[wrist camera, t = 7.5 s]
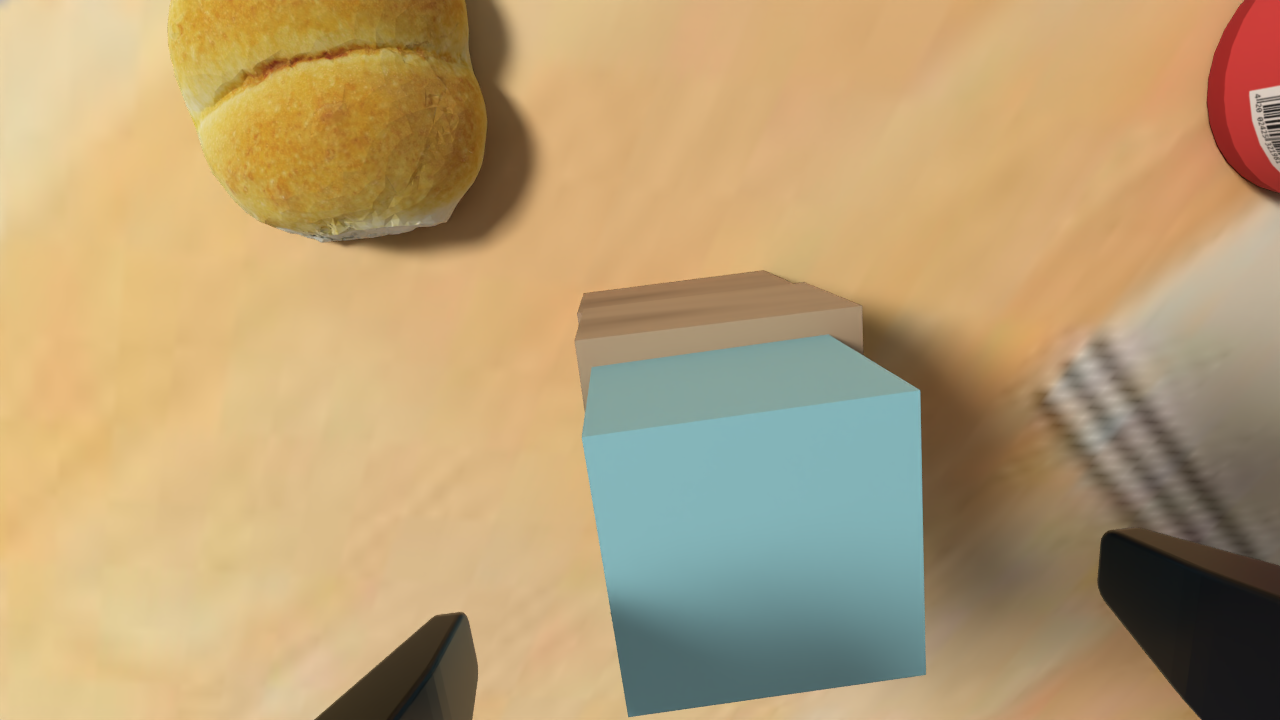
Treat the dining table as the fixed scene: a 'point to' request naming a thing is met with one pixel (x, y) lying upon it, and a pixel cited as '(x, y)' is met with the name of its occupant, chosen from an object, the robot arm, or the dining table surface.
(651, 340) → the tower top
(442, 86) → the bread roll
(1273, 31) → the canned food
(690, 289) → the tower base
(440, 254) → the dining table surface
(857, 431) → the teal block
